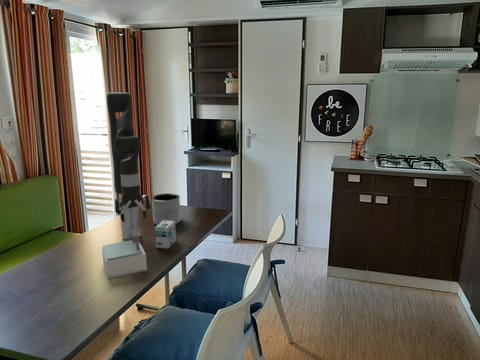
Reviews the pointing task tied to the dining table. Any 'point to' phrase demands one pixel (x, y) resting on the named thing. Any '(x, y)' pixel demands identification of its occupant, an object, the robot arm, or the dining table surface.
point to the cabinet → (125, 264)
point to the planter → (166, 208)
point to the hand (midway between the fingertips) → (133, 220)
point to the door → (123, 248)
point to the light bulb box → (165, 234)
